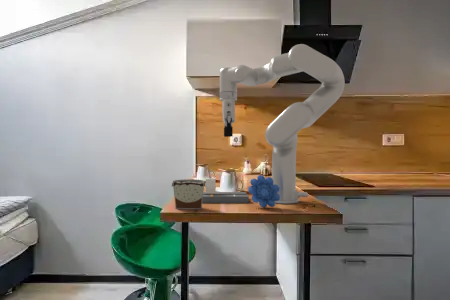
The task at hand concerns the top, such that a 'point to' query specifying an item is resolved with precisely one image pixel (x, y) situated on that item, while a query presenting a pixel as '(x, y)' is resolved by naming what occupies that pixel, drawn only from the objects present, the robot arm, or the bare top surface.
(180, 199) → the food container
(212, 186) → the fader tab
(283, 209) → the top surface
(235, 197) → the fader base
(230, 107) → the robot arm
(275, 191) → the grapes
